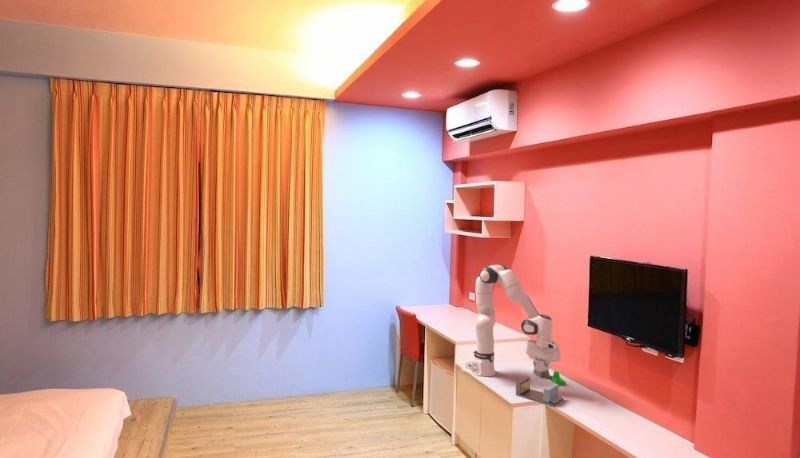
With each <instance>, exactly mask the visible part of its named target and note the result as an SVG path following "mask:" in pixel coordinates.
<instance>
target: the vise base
mask: <svg viewBox="0 0 800 458" xmlns="http://www.w3.org/2000/svg"><path fill="white" fill-rule="evenodd" d="M543 394H544V391H543V392H541V391H538V390H535V389H532V388H531V376H525V377H522V378H521V379H519V380H517V381H516V382H515V396H517V397H520V398H523V399H526V400H530V401H533V402H537V403H538V404H544V405H547V406H550V407H553V408H555V407H556V406H557V405H559V404H560V403H561V402H563V401H564V397H562V399H561V400H559V401H558V402H557V403H552V402H549V403H548V402H545V401H544V399H543Z"/></svg>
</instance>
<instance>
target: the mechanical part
mask: <svg viewBox="0 0 800 458" xmlns="http://www.w3.org/2000/svg"><path fill="white" fill-rule="evenodd" d="M550 378H551V379H550V380H551V381H552V382H553V383H555V384H559V386H566V385H567V383H566V381H565V380H564V379H563V378H562V377H561V376H560V372H559V371H558V370H554V371H553V375H550Z"/></svg>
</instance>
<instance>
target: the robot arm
mask: <svg viewBox="0 0 800 458" xmlns="http://www.w3.org/2000/svg"><path fill="white" fill-rule="evenodd" d="M495 283H499V284H500V286H501V288H502V289H503V291H504V294H505V296H506V297H507V298H508V300H509V301H512V302H515V303H517V304H519V305H520V306H521V307H522V308H523V310H524V311H525V313H526V315H527V317H528V318H526V319H524V320H522V322H521V324H520V328H521V331H522V333H524V334H525V335H529V336H530V335H531V336H532V335H533V336H536V337H535V339H534V340H533V339H529V340H527V342H526V355H527V356H532V357H533V360H535V361H536V359H538V358H542V359H546V360H548V363H547V364H546V367H549V368H550V364H551V363H552V362H556V363H559V362H560V361H561V350H560V343H558V342H557V341H555V340H553V339H552V338H553V337H552V334H553V333H552V332H553V319H552V318H551V317H550V315H546V314H539V311H538V310H537V309H536V307H535V305H534V303H533V302H532V300H531V299H530V297H529V296H528V294H527V293H526V291H525V289H524V288H523V286H522V284H521V282H520V280H519V278H518V277H517V275H516V273H515V272H514V271H513V270H512V269H508V268H507V267H506V266H505V265H502V264H491V265H489V266H486V267H485V266H484V267H482V268H481V270H480V271H479V274H478V276H477V278H476V280H475V304H476V309H477V313H478V316H477V318H476V320H475V332H476V333H475V334H476V349H475V350H474V351H473V352H472V355H473V356H471V357H470V358H468V359H467V360H466V361H465V364H464V366H463V367H461V371H463V372H466V373H469V374H471V375H473V376H475V377H493V376H495V375H496V369H495V352H494V351H495V350H494V349H495V347H494V345H495V339H494V326H495V325H496V320H497V319H496V313H495V305H494V292H493V291H494V290H493V286H494V284H495Z"/></svg>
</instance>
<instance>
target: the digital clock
mask: <svg viewBox="0 0 800 458" xmlns="http://www.w3.org/2000/svg"><path fill="white" fill-rule="evenodd" d="M532 363H533V367H534V368H533V375H534V376H536V377H538V378H539V379H543V378H544V377H545V378H546V379H547V378H548V379H549V380H551V379H550V376H551V375H550V371H549V369H548V370H546V371H544V372H542V371H538V370H535V365H536V361H535V359H533V360H532Z"/></svg>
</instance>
